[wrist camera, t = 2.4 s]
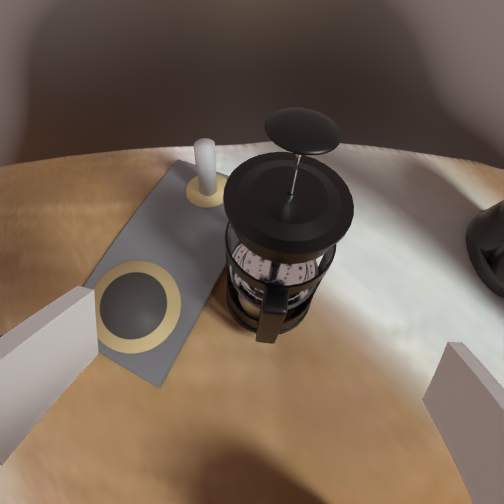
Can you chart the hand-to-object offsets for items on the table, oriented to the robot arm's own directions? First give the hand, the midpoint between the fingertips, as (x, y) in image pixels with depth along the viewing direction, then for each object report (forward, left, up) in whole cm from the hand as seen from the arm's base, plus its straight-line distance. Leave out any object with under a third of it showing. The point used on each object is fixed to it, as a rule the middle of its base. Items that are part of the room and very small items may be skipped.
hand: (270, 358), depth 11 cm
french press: (+3, -11, -23) cm, 26 cm away
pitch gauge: (+16, -11, -23) cm, 30 cm away
